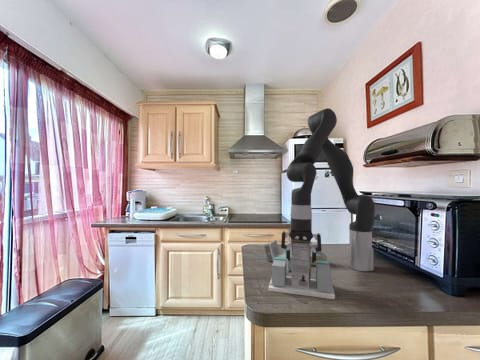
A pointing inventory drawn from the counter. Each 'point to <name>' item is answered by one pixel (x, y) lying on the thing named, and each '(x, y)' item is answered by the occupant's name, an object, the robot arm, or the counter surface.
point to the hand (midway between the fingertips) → (300, 261)
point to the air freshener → (318, 255)
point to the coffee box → (301, 263)
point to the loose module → (289, 263)
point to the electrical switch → (272, 250)
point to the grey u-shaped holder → (284, 284)
